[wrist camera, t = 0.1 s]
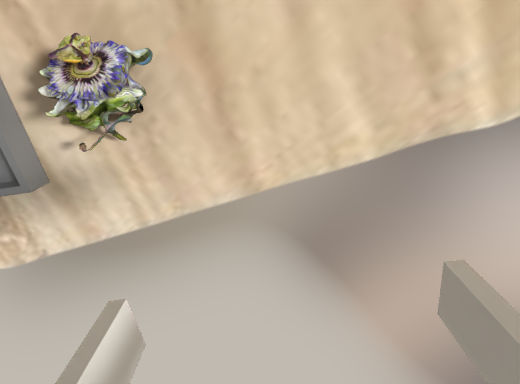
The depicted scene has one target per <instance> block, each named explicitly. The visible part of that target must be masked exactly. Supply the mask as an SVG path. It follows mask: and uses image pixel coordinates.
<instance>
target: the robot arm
mask: <svg viewBox="0 0 520 384" xmlns="http://www.w3.org/2000/svg"><path fill="white" fill-rule="evenodd" d="M438 315H439V316H440V318H441V319H442V320H443V322H444V323H445V325H446V326H447V328H448V329H449V331H450V332H451V333H452V335H453V336H454V338H455V339H456V341H457V342H458V343H459V345H460V346H461V347H462V349H463V350H464V352H465V353H466V355H467V356H468V358H469V359H470V360H471V362H472V363H473V364H474V366H475V367H476V369H477V370H478V372H479V373H480V375H481V376H482V377H483V379H484V380H485V382H486V383H487V384H520V314H519V313H518V312H517V311H516V310H515V309H514V308H513V307H512V306H511V305H510V304H509V303H508V302H507V301H506V300H505V299H504V298H503V297H502V296H501V295H500V294H499V293H498V292H497V291H496V290H494V288H492V287H491V286H490V285H489V284H488V283H487V282H486V281H485V280H484V279H483V278H482V277H481V276H480V275H479V274H478V273H477V272H476V271H475V270H474V269H473V268H472V267H471V266H470V265H469V264H468V263H467V262H466V261H464V260H457V261H448V262H444V264H443V273H442V281H441V290H440V299H439V307H438ZM145 346H146V344H145V341H144V339H143V337H142V335H141V332H140V330H139V328H138V325H137V324H136V321H135V318H134V316H133V314H132V311H131V309H130V307H129V305H128V302H127V300H126V299H123V300H115V301H109V302H108V303H107V305H106V307H105V308H104V310H103V311H102V313H101V314H100V316H99V317H98V319H97V320H96V322H95V323H94V325H93V327H92V328H91V330H90V331H89V333H88V334H87V336H86V337H85V339H84V340H83V342H82V343H81V345H80V347H79V348H78V350H77V351H76V353H75V354H74V356H73V357H72V359H71V360H70V362H69V363H68V365H67V366H66V368H65V370H64V371H63V373H62V374H61V376H60V378H59V379H58V380H57V382H56V383H55V384H130V381H131V379H132V377H133V374H134V372H135V370H136V367H137V365H138V362H139V360H140V358H141V355H142V352H143V350H144V348H145Z"/></svg>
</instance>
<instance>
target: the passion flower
mask: <svg viewBox="0 0 520 384" xmlns="http://www.w3.org/2000/svg"><path fill="white" fill-rule="evenodd" d="M90 40H91V38H90V37H89V36H84V37H82V38H81V36H80V34H78V33H74V34H73V35H72V36H66V37H65V38H64V39H63V41H61V44H60V45H59V48H58V49H57V50H55V51H54V52H52V53H50V54H49V56H48V57H49V59H51V60H49V61H50V63H49V64H48V66H46V68H44V69H42V70H40V74H41V75H42V76H44V77H46V78H47V79H49V80H51V81H49V84H47V85H44V86H42V87H41V88H39V89H38V91H39V93H41V94H42V95H44V96H45V97H48V98H55V99H59V100H58V101H57V104H56V105H55V106H54V109H53V110H51V111H49V112H48V113H47V112H46V115H47V116H50V117H58V116H61V115H63V114H65V115H66V116H67V117H68V118H69V122H70V123H71V124H74V125H80V126H83V127H85V128H86V129H89V130H91V131H93V130H95V129H97V128H98V127H100V126H103V127H104V128H105V129H106V131H105V132H104V133H103V135H102V136H101V137H99V139H98V141H97V142H95V143H94V144H93V145H92V147H91V148H90V149H89V150H92V149H93V148H94V147H95V146H96V145H97V144H98V143H99V142H100V141H101V139H102V138H103V137H104V136H105V134H107V133H111V134H112V135H113V136H115V137H117V138H118V139H120V140H126V138H124V137H123V136H121V135H120V134H118V133H117V132H116V131H115V128H114V127H115V125H116V124H117V123H119V122H124V121H129V122H130V123H131V122H132V121H131V117H132V116H133V115H134V114H136V113H141V112H143V106H142V104H141V102H140V101H141V99H142V97H144V96H146V92H145V89H144V88H143V86H141V85H140V84H139V83H137V82H135V81H134V80H132V78H131V77H130V76H129V74H128V70H129V67H131V66H132V65H135V64H140V65H145V64H148V63H149V62H151V59H152V52H151V50H149V49H148V48H145V49H142V50H136V51H131V50H129V49H128V47H126V46H125V45H117V44H116V43H115V42H113V41H108V42H107V44H105V43H102V42H99V43H98V42H96V43H92V42H90ZM127 103H128V105H127V107H126V108H124V107H123V106H124V105H125V104H127ZM133 103H135V104H133ZM69 108H72V109H73V111H69V110H68V109H69ZM132 109H137V110H134V111H132ZM114 113H115V114H120V116H119V117H118V118H117V119H116V120H115V121H114V122H113V123H110V122H109V121H108V115H110V114H114ZM79 147H80V149H81V150H82V151H83V152H86V151H89V150H86V145H85V143H81V144H79Z"/></svg>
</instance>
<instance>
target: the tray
mask: <svg viewBox="0 0 520 384" xmlns="http://www.w3.org/2000/svg"><path fill="white" fill-rule="evenodd" d="M47 183H49V180H48V177H47V175H46V173H45V171H44V169H43V167H42V165H41V163H40V160H39V158H38V156H37V154H36V152H35V150H34V148H33V146H32V143H31V141H30V139H29V137H28V135H27V133H26V131H25V129H24V127H23V124H22V122H21V120H20V118H19V116H18V114H17V112H16V110H15V107H14V105H13V103H12V101H11V99H10V97H9V95H8V93H7V90H6V88H5V86H4V84H3V82H2V80H1V78H0V197H1V196H8V195H15V194H22V193H29V192H33V191H34V190H36V189H38V188H40V187H42V186H43V185H45V184H47Z"/></svg>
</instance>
